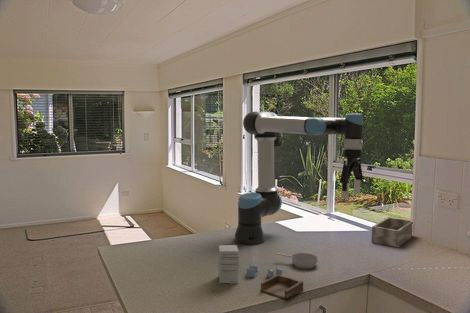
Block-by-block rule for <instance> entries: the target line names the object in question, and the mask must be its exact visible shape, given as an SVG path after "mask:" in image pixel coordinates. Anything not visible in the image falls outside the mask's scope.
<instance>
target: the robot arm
mask: <svg viewBox="0 0 470 313" xmlns="http://www.w3.org/2000/svg"><path fill="white" fill-rule="evenodd" d="M242 126H243V129H244V130H245V131H246V133H248V134H250V135H254V139H255V140H256V142H257V144H256V145H257V188H256V189H255V190H254V191H255V192H246V193H242V194H241V195H240V196H239V197H238V202H237V206H238V207H237V209H238V210H237V228H236V230H235V232H234V233H235V234H234V241H235V240H236V241H237V242H240V243H244V244H243V245H247V244H250V246H253V245H260V244H262V243H265V241H266V240H265V238H266V237H265V233H264V231H263V227H262V226H263V225H262V218H264V217H267V216H272V215H274V214H276V213H278V212H279V211H280V209H281V208H282V204H283V199H282V196H280V193H279V191H278V188H277V187H276V186H275V140H276V139H277V138H278V134H279V133H280V134H294V135H295V134H296V135H298V134H299V135H311V136H325V135H326V136H328V135H329V136H330V135H341V136H342V135H343V136H344V138H343V139H344V142H343V143H344V144H343V147H344V150H343V157H344V158H346V160H345V159H344V160H343V163H342V164H343V165H342V169H341V170H342V171H341V175H340V178H339V183H340V184H341V199H345V200H347V199H349V189H350V188H349V186H350V184H349V180H350V177H351V175H352V174H353V176H354V180H353V194H354V195H360V194H361V181H363V179H364V178H363V177H364V175H363V170H362V168H363V167H362V163H361V162H362V161H361V158H362V154H363V153H362V151H363V150H362V148H363V144H364V142H363V131H364V130H363V128H364V116H363V114H361V113H346V114H345V117H327V116H326V117H309V116H308V117H307V116H279V115H278V114H276V113H275V112H272V111H251V112H248V113H247V114H246V115H245V116H244V118H243V120H242ZM236 241H235V242H236ZM237 242H236V243H237ZM240 243H239V244H240ZM251 244H252V245H251Z"/></svg>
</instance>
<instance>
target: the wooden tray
mask: <svg viewBox="0 0 470 313" xmlns="http://www.w3.org/2000/svg"><path fill="white" fill-rule="evenodd" d="M303 290H304V281H303V280H299V279H296V278H293V277H292V278H291V277H289V276H284V275H283V274H282V275H279V274H277V275H275V276H273V277H271V278H267V279H266V280H264V281H262V282H260V292H262V293H264V294H265V293H266V294H268V295H271V296H275V297H278V298H280V299H282V300H283V299H284V300H285V301H286V300H287V301H288V300H290V299H291V298H293V297H294V296H296V295H297V294H299V293H300V292H302V291H303Z"/></svg>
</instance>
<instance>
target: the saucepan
mask: <svg viewBox="0 0 470 313" xmlns="http://www.w3.org/2000/svg"><path fill="white" fill-rule="evenodd" d="M275 255H278V256H283V257H288V258H291V260H292V263H293V265H294V266H295V267H296V268H300V269H306V270H307V269H308V268H309V269H313V268H314V267H316V265H317V263H318V259H319V258H318V256H317V255H315V254H312V253H308V252H307V253H306V252H299V253H294V254H286V253H282V252H281V253H280V252H275Z"/></svg>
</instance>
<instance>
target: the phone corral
mask: <svg viewBox="0 0 470 313" xmlns="http://www.w3.org/2000/svg"><path fill="white" fill-rule="evenodd" d="M411 221H412V220H409V219H404V218H403V219H402V218H396V217H390V216H389V217H387V218H385V219H384V220H381V221H380V222H377V223H376V224H374V225H373V226H371V243H374V244H380V245H385V246H391V247H394V248H399V247H401V246H402V245H403V244H405V243H406V242H407V241H408V240H409V239H411V238H412V237H413V236H412V224H413V222H411ZM411 236H412V237H411Z"/></svg>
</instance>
